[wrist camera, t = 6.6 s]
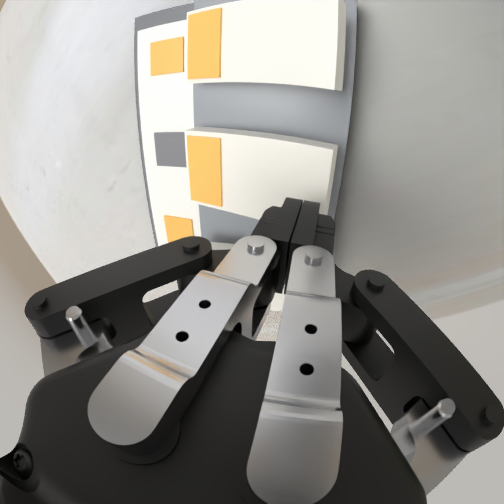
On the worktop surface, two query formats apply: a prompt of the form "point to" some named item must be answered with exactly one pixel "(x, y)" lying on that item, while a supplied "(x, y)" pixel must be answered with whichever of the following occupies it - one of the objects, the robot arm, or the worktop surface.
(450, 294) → the worktop surface
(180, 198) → the switch unit
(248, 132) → the rocker middle
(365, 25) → the worktop surface
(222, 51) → the plate
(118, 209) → the worktop surface
